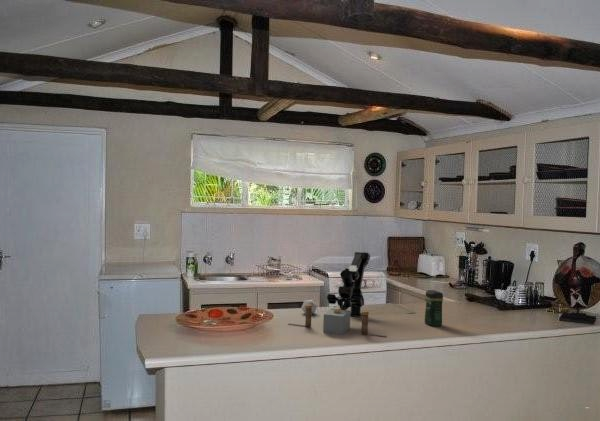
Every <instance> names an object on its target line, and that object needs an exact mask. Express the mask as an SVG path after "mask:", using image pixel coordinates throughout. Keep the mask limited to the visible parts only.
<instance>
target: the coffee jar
mask: <svg viewBox="0 0 600 421" xmlns="http://www.w3.org/2000/svg"><path fill="white" fill-rule="evenodd" d="M443 301H444V294H443V293H442V292H440V291H437V290H434V289H428V290H426V291H425V309H424V310H425V311H424V324H427V325H428V326H433V327H440V326H442V325H443Z"/></svg>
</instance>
